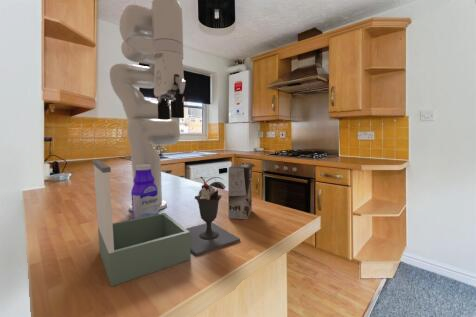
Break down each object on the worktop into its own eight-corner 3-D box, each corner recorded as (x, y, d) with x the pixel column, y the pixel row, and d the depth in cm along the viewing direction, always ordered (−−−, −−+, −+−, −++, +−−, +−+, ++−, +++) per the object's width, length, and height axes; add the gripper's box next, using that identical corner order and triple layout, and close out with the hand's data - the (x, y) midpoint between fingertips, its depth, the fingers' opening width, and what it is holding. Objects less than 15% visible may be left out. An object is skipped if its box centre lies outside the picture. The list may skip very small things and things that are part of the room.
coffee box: (248, 219, 73) (248, 167, 71) (227, 218, 74) (227, 167, 73) (252, 210, 82) (252, 164, 80) (234, 209, 83) (233, 163, 81)
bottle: (141, 228, 66) (138, 167, 64) (129, 224, 69) (126, 165, 67) (162, 220, 72) (160, 164, 71) (150, 217, 75) (147, 162, 74)
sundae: (195, 230, 63) (194, 175, 62) (221, 229, 64) (220, 174, 63) (195, 242, 57) (193, 180, 55) (223, 240, 58) (222, 179, 56)
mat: (171, 234, 63) (171, 232, 63) (211, 223, 70) (211, 221, 70) (196, 256, 51) (195, 253, 51) (240, 241, 59) (240, 238, 59)
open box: (98, 252, 53) (92, 159, 51) (165, 235, 62) (162, 155, 60) (109, 287, 41) (102, 167, 39) (190, 259, 50) (188, 161, 48)
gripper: (143, 57, 66) (146, 119, 68) (166, 37, 53) (168, 116, 54) (170, 62, 71) (171, 120, 73) (196, 45, 57) (198, 117, 59)
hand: (170, 118), depth 63 cm, fingers open, 9 cm apart
